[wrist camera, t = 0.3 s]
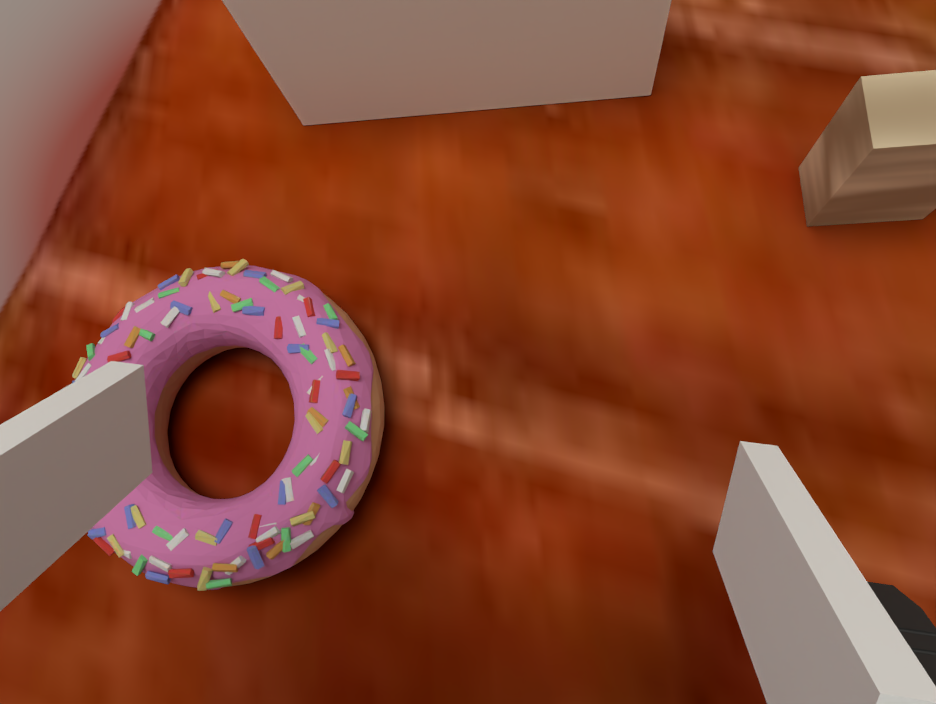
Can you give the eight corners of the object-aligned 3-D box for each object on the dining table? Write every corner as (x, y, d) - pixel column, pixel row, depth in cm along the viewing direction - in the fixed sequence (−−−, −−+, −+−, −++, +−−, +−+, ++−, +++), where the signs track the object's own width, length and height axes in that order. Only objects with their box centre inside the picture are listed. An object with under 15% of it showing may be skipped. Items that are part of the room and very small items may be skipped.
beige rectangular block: (922, 219, 31) (1022, 137, 25) (806, 226, 32) (873, 148, 25) (911, 159, 32) (1005, 63, 25) (798, 167, 33) (860, 76, 26)
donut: (58, 437, 35) (-23, 424, 30) (259, 233, 36) (213, 188, 31) (242, 653, 31) (183, 678, 26) (459, 418, 32) (441, 401, 27)
